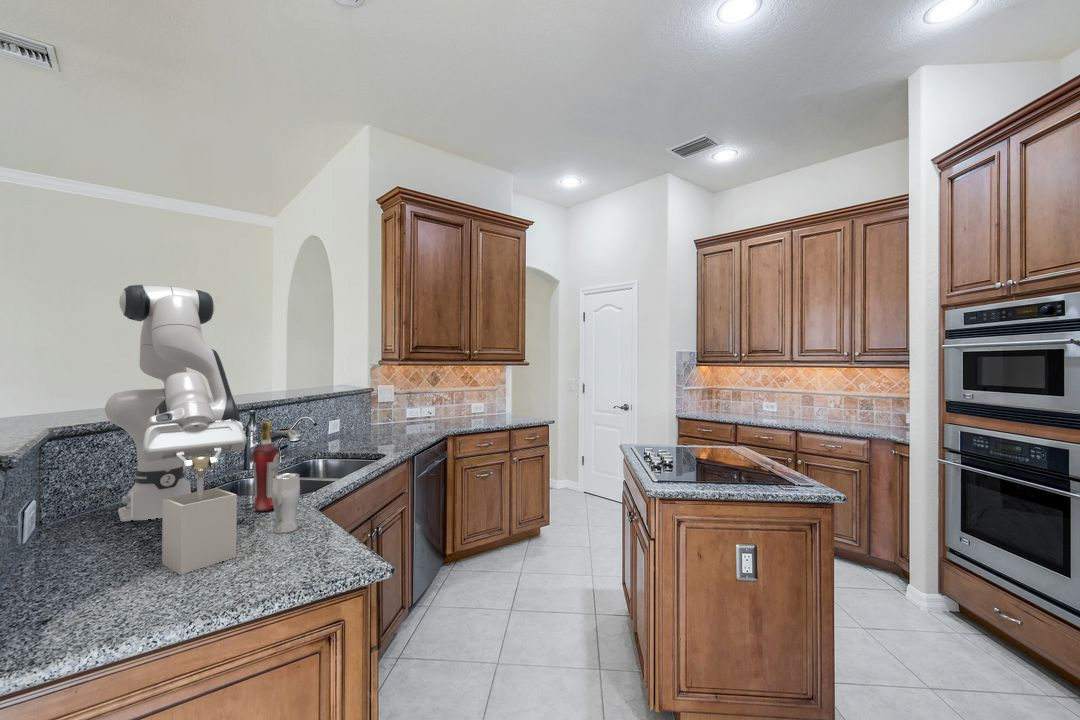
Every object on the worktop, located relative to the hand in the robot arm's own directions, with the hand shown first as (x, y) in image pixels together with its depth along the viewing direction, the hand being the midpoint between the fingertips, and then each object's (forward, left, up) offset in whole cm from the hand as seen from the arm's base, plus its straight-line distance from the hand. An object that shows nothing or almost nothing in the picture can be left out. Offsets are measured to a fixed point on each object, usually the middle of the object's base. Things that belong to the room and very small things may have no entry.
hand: (201, 467), depth 107 cm
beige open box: (-1, 0, -22) cm, 22 cm away
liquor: (-29, +28, -22) cm, 46 cm away
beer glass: (-5, +22, -22) cm, 32 cm away
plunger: (-1, 0, -17) cm, 17 cm away
